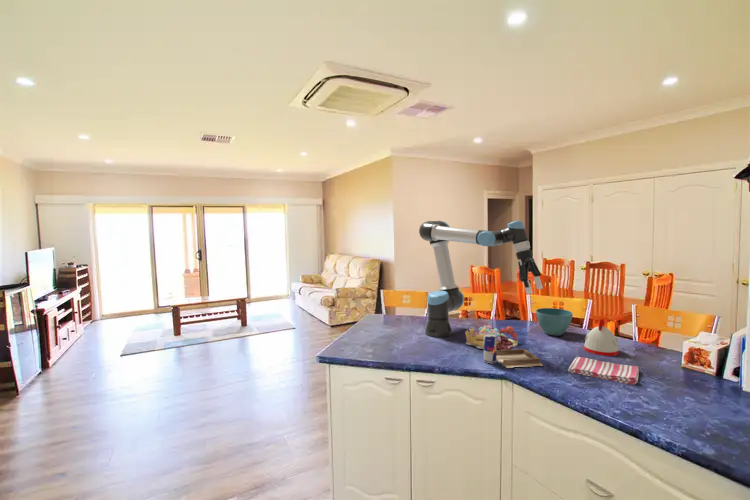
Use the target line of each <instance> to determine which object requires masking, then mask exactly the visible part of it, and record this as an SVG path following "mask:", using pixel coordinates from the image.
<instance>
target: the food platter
mask: <svg viewBox="0 0 750 500" xmlns="http://www.w3.org/2000/svg"><path fill="white" fill-rule="evenodd" d="M478 329H479V331H477V330H476V329H474V328H469V330H468V329H467V330H465V332H464V333H465V338H466V340H465V341H466V342H465V344H466V345H468V346H474V347H475V348H477V349H482V350H484V334H494V335H496V350H510V349H511V348H515V347H517V346H518V343H519V338H518V335H517V333H516V332H514V331H515V329H514V328H513V327H512V326H506V327H505V328H504V327H502V328H501V329H500V330H499V329H498V328H496V327H495V328H494V327H492V325H490V324H488V325H486V324H484V325H483V326H480V327H479V328H478ZM506 334H507V335H511V338H513V339H511V338H508V337H507V335H506Z"/></svg>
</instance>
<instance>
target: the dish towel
mask: <svg viewBox="0 0 750 500" xmlns="http://www.w3.org/2000/svg"><path fill="white" fill-rule="evenodd" d="M567 371H568V373H570V372H571V374H575V373H577V375H581V374H582V376H586V377H587V376H588V377H592V378H595V379H602V380H607V381H613V382H617V383H621V384H627V385H632V386H633V385H636V384H637V383H638V380H639V366H638V365H637V366H636V365H629V364H628V365H627V364H618V363H614V362H609V361H602V360H601V361H600V360H598V359H594V358H588V357H582V356H581V357H580V356H576V357H575V358H574V359H573V361H572V362H571V364H570V366H569V368H568V370H567Z"/></svg>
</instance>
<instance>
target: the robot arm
mask: <svg viewBox="0 0 750 500" xmlns="http://www.w3.org/2000/svg"><path fill="white" fill-rule="evenodd" d="M418 233H419V236H420V238H421V239H422V240H424V241H426V242H429V245H430V246H431V247H432V249H433V254H434V258H435V263H436V268H437V274H438V278H439V285H440V287H439V289H438V290H435V291H431V292H430V293H428V294H427V299H426V300H427V301H426V302H427V321H426V324H425V327H424V334H425V335H426V336H429V337H434V338H435V337H437V338H442V337H449V336H451V335H452V334H453V328H452V325H451V323H450V318H449V317H450V316H449V315H450V314H449V313H451V312H453V311H457V310H459V309H460V308H461V307H463V305H464V303H465V296H464V294H463V292H462V291H461V290H460V287H459V286H458V285H457V284H456V281H455V276H454V273H453V272H454V271H453V266H452V262H451V256H450V250H449V246H448V245H449V243H450V242H456V243H464V244H472V245H477V246H478V245H480V246H482V247H493V248H494V247H498V246H500V245H504V244H507V243H511V242H512V245H513V249H514V252H515V256H516V258H517V260H519V261H518V262H517V263H518V267H519V280H520V282H521V283H523V285H524V289H525V292H526V295H530V294H533V293H534V292H533V289H532V285H531V283H530V280H529V271H530V272H531V274H532V276H533V280H534V283H535V287H536V289H537V290H543V289H544V287H543V283H542V281H541V276H542V274H541V271H540V269H539V267H538V265H537V263H536V262H535V259H534V257H533V256H534V255H533V251H532V249H530V248H531V245H530V241H529V239H528V235H527V230H526V227H525V225H524V222H523V221H522V220H521V219H520V220H515V221H512V222H509V223H507V227H506V228H502V229H500V230H483V229H482V230H480V229H474V228H472V229H471V228H464V227H463V228H462V227H461V228H460V227H452V226H450V225H449V224H448V223H447V222H446V221H442V220H428V221H425V222H423V223H422V224H420V226H419V230H418Z"/></svg>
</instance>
